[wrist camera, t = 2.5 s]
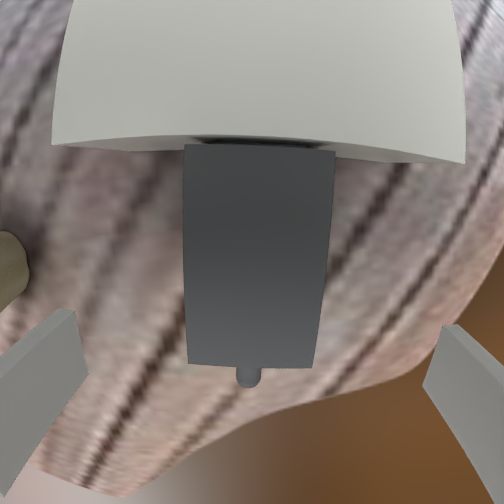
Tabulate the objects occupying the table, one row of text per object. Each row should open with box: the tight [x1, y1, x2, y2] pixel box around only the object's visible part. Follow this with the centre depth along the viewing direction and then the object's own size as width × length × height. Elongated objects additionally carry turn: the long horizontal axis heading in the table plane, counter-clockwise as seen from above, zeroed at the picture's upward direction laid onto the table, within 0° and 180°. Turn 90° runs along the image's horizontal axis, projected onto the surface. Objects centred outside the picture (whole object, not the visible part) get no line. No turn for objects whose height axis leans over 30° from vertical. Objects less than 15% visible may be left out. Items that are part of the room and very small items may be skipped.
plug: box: [183, 141, 336, 388], centre depth 17 cm, size 20×6×8 cm, turn 178°
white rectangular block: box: [51, 0, 466, 164], centre depth 14 cm, size 10×18×10 cm, turn 88°
